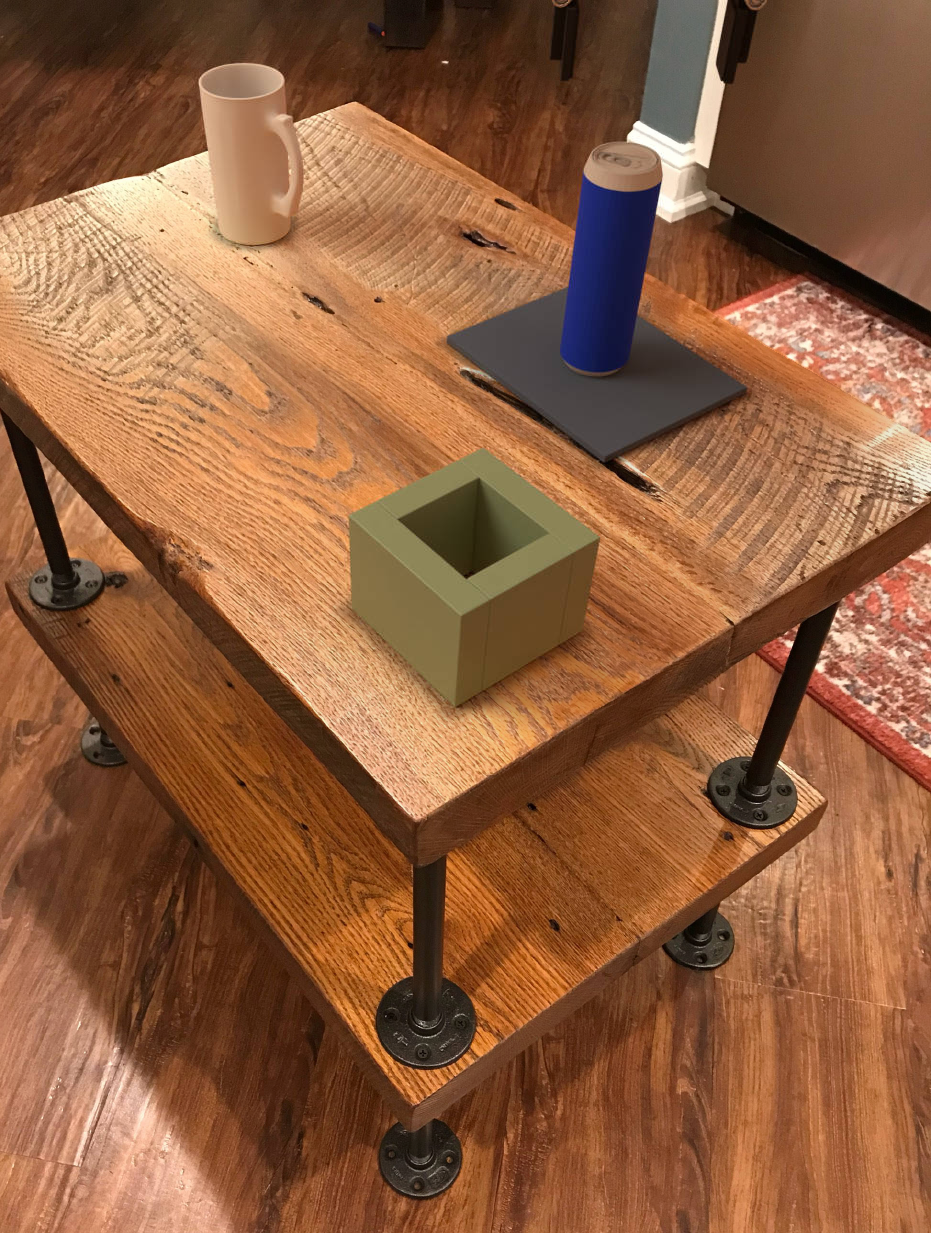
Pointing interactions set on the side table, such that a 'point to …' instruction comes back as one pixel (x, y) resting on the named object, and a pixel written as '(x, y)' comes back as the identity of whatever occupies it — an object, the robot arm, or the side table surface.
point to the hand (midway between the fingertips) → (644, 73)
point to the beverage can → (610, 256)
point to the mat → (596, 378)
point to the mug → (251, 152)
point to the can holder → (456, 545)
